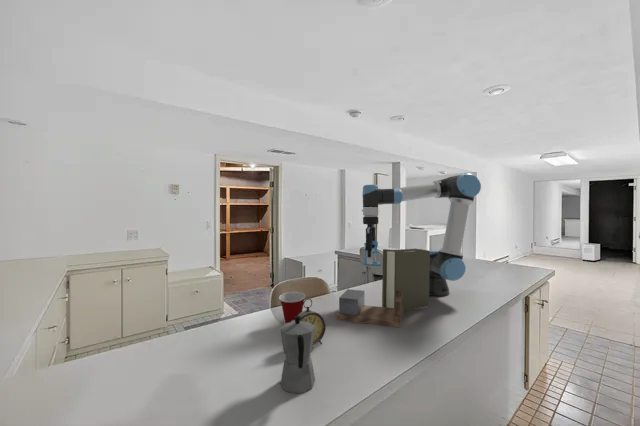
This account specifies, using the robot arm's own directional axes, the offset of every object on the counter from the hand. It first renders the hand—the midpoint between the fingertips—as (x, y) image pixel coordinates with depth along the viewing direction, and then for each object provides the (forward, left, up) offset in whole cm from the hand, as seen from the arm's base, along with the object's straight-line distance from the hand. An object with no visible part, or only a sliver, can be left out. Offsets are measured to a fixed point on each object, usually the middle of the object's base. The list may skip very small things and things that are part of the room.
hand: (371, 262), depth 147 cm
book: (-17, 0, -21) cm, 27 cm away
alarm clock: (+12, +53, -20) cm, 58 cm away
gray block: (+5, +19, -18) cm, 26 cm away
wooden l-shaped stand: (-3, +19, -20) cm, 28 cm away
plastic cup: (+25, +38, -20) cm, 50 cm away
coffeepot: (+6, +75, -20) cm, 78 cm away
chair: (0, 0, -1) cm, 1 cm away
